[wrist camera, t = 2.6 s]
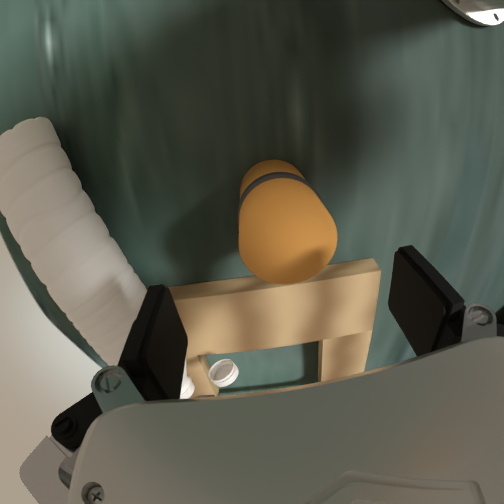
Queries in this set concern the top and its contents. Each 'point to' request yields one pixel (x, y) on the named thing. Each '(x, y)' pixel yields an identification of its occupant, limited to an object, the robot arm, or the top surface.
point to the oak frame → (281, 318)
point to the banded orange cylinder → (283, 224)
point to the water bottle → (73, 244)
